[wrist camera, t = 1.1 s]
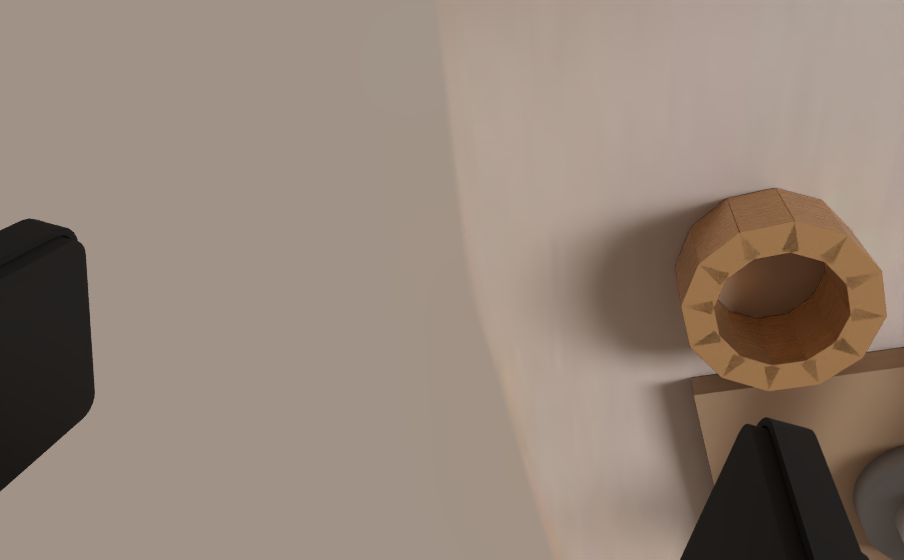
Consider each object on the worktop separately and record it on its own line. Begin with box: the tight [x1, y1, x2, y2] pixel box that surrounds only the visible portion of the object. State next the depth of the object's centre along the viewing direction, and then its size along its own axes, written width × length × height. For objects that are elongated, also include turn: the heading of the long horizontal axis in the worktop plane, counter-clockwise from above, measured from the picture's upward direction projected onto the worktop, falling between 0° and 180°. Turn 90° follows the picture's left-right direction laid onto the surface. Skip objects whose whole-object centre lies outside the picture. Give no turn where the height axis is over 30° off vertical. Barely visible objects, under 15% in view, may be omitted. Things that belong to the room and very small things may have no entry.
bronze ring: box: [676, 188, 887, 391], centre depth 30 cm, size 7×7×4 cm
